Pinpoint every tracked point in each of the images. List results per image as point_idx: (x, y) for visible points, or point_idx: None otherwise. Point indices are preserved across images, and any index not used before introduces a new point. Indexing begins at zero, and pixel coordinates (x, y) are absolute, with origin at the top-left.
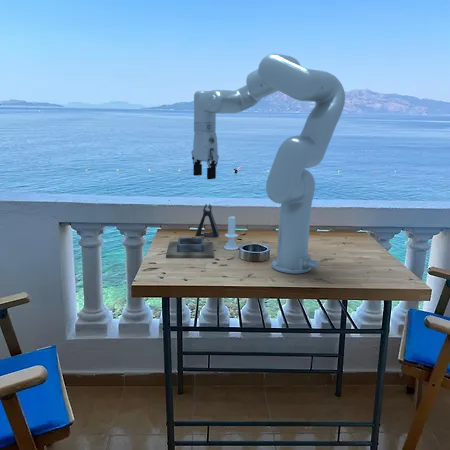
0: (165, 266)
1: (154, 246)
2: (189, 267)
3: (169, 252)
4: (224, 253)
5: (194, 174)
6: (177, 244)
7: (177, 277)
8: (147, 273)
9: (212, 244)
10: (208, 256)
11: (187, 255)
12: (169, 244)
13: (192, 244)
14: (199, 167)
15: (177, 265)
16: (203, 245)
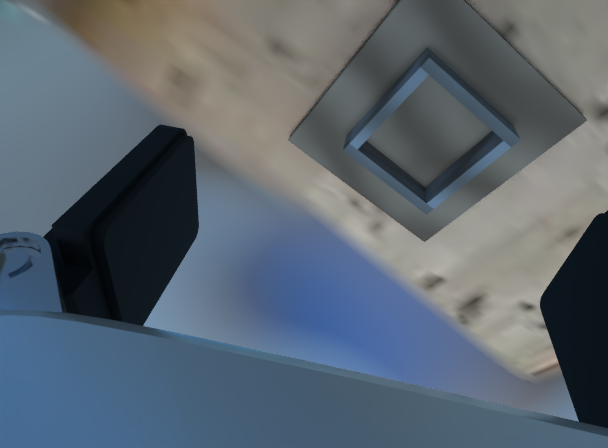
0: (487, 277)
1: (285, 191)
2: (562, 239)
3: (409, 218)
4: (585, 22)
5: (189, 239)
6: (423, 210)
7: None
8: (490, 329)
9: (463, 5)
10: (562, 135)
11: (487, 194)
12: (324, 163)
13: (471, 168)
14: (139, 243)
15: (512, 251)
16: (520, 139)
